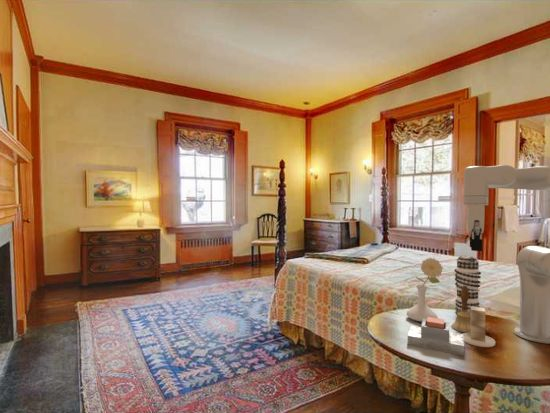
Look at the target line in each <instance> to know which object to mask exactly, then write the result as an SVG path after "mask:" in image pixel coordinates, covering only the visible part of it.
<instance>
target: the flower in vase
mask: <svg viewBox="0 0 550 413" xmlns="http://www.w3.org/2000/svg"><path fill="white" fill-rule="evenodd" d="M420 270H421V271H422V272H423V274H424V275H426V276H428V277H427V278H426V280H425V281H424V279H423V278H422V279H421V278H419V277H417V276H415V279H417V280H419V281H421V282H423V283H415V284H414V285H415V287H416V289H417V292H418V302H417V303H416V304H415V305H414V306H412V307H411V308H409V309H408V310H407V311H406V316H407V317H408V318H409V319H411V320H413V321H416V322H419V323H420V322H421V323H422V321H423V319H427V318H428V317H433V318H438V315H437V314H436V312H435V311H433V309H431V308H430V307H429V306H428V305H427V304H426V303H427V302H426V292H427V289H428V288H429V284H426V283H427V281H429V282H430V283H431V284H437V283H441V280H439V279H438V278H437V277H439V276H442V273H443V270H444V268H443V266H442V264H441V263H440V261H439V259H438V260H437V259H435V258H432V257H429V258H426V259H423V260H422V263H421V266H420Z"/></svg>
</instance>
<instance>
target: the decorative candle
mask: <svg viewBox="0 0 550 413" xmlns="http://www.w3.org/2000/svg"><path fill="white" fill-rule="evenodd" d="M455 260H456V265H457V266H456V268H455V269H454V272H455V273H454V276H455V278H454V281H455V283H454V284H455V290H456V295H455V302H456V303H455V306H456V307H455V308H454V309H455V312H454V313H455V316H454V317H455V318H457V313H459V312H461V311H462V300H461V290H462V288H463V286H467V289H468V292H469V298H468V301H467V313H468V314H470V315H471V306H472V307H479V308H481V306H480V297H479V292H480V289H479V288H481V285H480V283H481V281H480V280H479V279H481V278H482V276H480V275H482V272H480V268H479V266H480V265H479V264H480V261H479V260H478V258H476V257H475V256H471V255H459V257H457V258H456V259H455Z"/></svg>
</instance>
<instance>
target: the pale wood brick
mask: <svg viewBox="0 0 550 413" xmlns="http://www.w3.org/2000/svg"><path fill="white" fill-rule="evenodd" d="M479 307H480V306H479ZM479 307H472V306H471V321H470V336H471V339H472V340H478V341H483V342H485V335H486V309H485V308H484V307H480V308H479Z"/></svg>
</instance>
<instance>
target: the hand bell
mask: <svg viewBox="0 0 550 413" xmlns="http://www.w3.org/2000/svg"><path fill="white" fill-rule="evenodd" d="M468 298H469V292H468V289H467V286H463V288H462V290H461V300H462V311H461V312H459V313H457V318H456V317H455V318H456V319H455V321H454V322H453V323H452V324H451V325H450V327H451V328H452V329H454V330H455V331H458V332H462V333H470V321H471V315H470V314H468V313H467V301H468Z"/></svg>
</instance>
